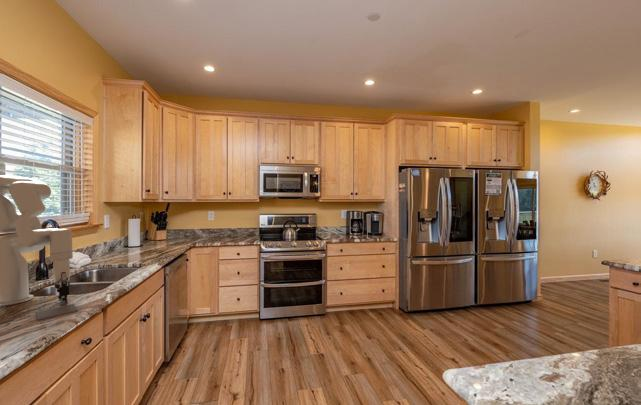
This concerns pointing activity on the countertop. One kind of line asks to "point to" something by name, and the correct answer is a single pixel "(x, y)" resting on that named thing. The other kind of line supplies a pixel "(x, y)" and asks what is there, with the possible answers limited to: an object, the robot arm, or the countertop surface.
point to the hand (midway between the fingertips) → (62, 293)
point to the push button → (63, 298)
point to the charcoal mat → (55, 312)
